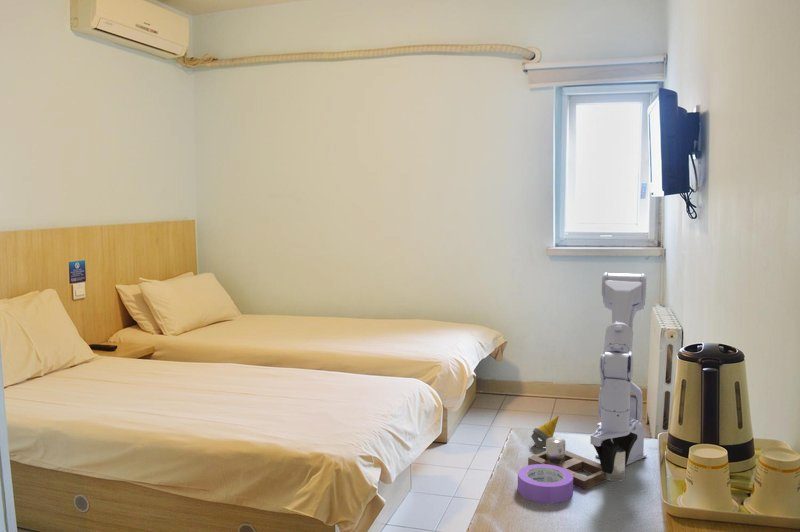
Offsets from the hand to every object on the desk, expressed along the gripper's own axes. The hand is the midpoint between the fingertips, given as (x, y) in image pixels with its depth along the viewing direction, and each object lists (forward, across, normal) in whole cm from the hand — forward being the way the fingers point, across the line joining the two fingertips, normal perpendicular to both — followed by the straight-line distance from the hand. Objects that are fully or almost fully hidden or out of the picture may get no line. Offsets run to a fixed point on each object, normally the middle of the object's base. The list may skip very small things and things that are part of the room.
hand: (614, 468), depth 151 cm
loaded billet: (+5, -1, -16) cm, 17 cm away
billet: (+2, 0, 0) cm, 2 cm away
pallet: (+5, 0, -12) cm, 13 cm away
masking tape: (+5, +11, -9) cm, 15 cm away
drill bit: (+5, -9, -26) cm, 28 cm away
